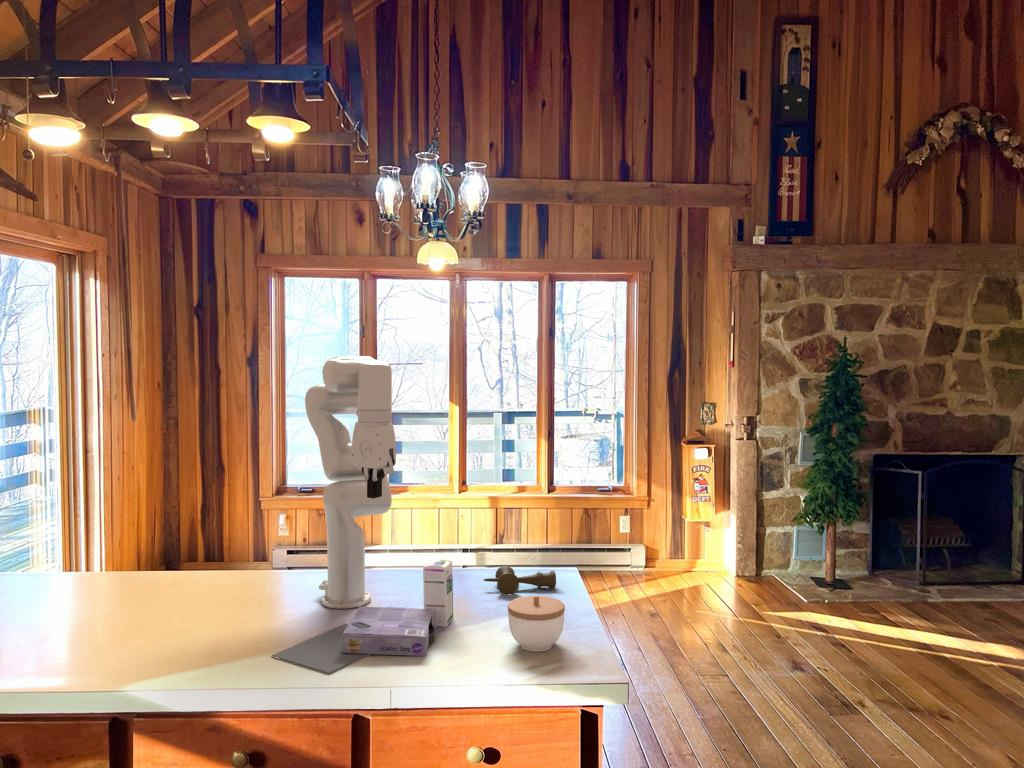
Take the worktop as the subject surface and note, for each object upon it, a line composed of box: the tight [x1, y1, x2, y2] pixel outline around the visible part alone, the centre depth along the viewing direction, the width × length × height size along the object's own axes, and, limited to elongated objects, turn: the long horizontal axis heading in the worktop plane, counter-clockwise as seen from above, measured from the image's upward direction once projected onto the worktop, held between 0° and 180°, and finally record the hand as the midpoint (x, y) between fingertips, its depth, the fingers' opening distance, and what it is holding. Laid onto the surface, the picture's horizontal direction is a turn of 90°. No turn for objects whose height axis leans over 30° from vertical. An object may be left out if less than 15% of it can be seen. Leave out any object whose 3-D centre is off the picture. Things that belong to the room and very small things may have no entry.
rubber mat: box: [271, 623, 371, 675], centre depth 165 cm, size 17×22×1 cm
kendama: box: [483, 565, 557, 595], centre depth 207 cm, size 6×10×20 cm
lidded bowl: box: [507, 594, 566, 652], centre depth 166 cm, size 13×13×11 cm
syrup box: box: [422, 559, 454, 628], centre depth 180 cm, size 6×6×14 cm
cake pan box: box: [342, 605, 436, 657], centre depth 169 cm, size 19×5×18 cm
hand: (374, 497), depth 171 cm, fingers closed
